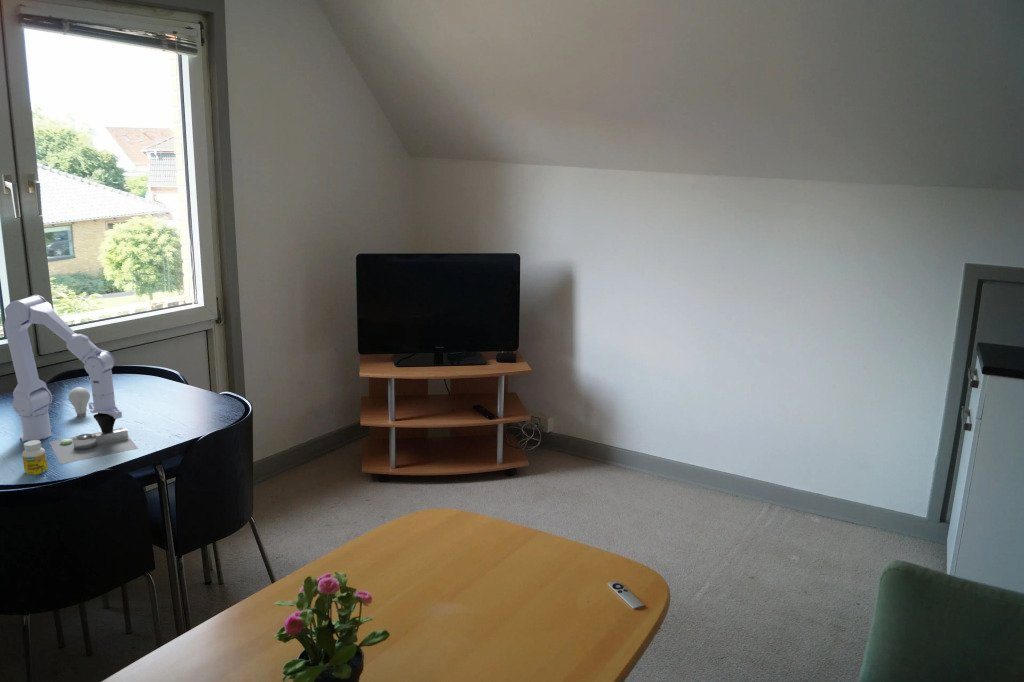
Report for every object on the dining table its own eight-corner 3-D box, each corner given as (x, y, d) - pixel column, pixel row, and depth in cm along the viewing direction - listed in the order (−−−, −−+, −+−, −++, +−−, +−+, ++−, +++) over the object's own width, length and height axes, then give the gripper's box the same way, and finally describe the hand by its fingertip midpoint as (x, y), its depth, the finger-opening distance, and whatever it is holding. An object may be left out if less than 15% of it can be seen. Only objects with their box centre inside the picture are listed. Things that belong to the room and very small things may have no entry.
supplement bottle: (47, 470, 219) (43, 437, 217) (49, 477, 215) (44, 444, 213) (25, 474, 217) (20, 441, 214) (26, 481, 212) (21, 448, 210)
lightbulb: (95, 419, 257) (91, 387, 254) (75, 424, 253) (71, 391, 250) (88, 415, 261) (84, 383, 258) (68, 419, 257) (64, 387, 254)
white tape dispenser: (76, 451, 228) (75, 441, 227) (71, 445, 233) (70, 435, 232) (130, 440, 237) (129, 430, 236) (124, 434, 241) (123, 424, 241)
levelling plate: (49, 446, 235) (48, 439, 235) (122, 432, 247) (121, 425, 247) (61, 469, 220) (60, 461, 220) (138, 453, 232) (137, 445, 231)
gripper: (76, 391, 235) (81, 434, 238) (103, 401, 227) (108, 445, 230) (100, 385, 240) (104, 427, 244) (126, 395, 232) (131, 438, 236)
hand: (108, 436), depth 237 cm, fingers closed
